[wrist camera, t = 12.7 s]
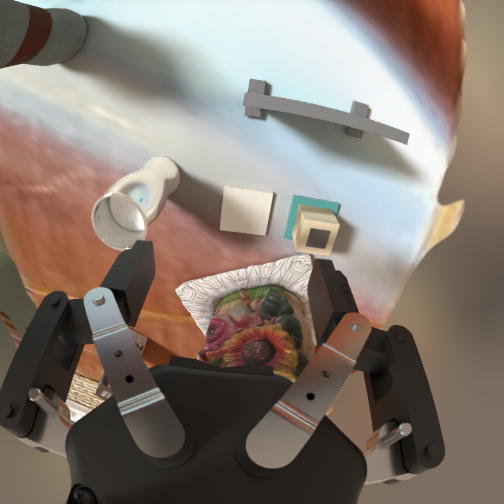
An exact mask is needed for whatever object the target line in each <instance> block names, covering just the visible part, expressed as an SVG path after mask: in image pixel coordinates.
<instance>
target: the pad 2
mask: <svg viewBox="0 0 504 504" xmlns="http://www.w3.org/2000/svg"><path fill="white" fill-rule="evenodd" d="M299 204H302V205H308V206H314V207H320V208H326V209H331V210H332V212H333V214H334V215H335V217H336V213H337V210H338V207H339V204H338V203H336V202H331V201H325V200H320V199H314V198H308V197H302V196H296V195H293V199H292V204H291V208H290V213H289V217H288V221H287V226H286V230H285V234H284V238H286V239H293V236H292V231H293V227H294V223H295V219H296V215H297V211H298V207H299Z"/></svg>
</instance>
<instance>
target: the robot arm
mask: <svg viewBox="0 0 504 504" xmlns="http://www.w3.org/2000/svg"><path fill="white" fill-rule="evenodd" d="M154 275H155V260H154V251H153V243H152V241H144V240H136V242H135V243H134V245H133V247H132V248H131V249H126V250H124V251H123V252H122V253H120V254H119V255H118V257H117V259H116V260H115V263H114V264H113V265H112V267H111V268H110V270H109V272H108V274H107V275H106V277H105V279H104V280H103V282H102V284H101V286H100V287H99V288H95V289H92V290H90V291H89V292H88V293H87V294H86V295H85V297H84V298H82V299H71V300H69V299H68V297H67V295H66V293H64V292H62V291H54V292H52V293H50V294H48V295H47V296H46V297H45V298H44V299H43V301H42V303H41V304H40V306H39V308H38V310H37V311H36V313H35V315H34V317H33V319H32V321H31V323H30V325H29V326H28V328H27V330H26V332H25V334H24V336H23V338H22V340H21V343H20V345H19V347H18V349H17V351H16V353H15V356H14V358H13V360H12V362H11V365H10V367H9V370H8V372H7V374H6V377H5V379H4V382H3V385H2V388H1V390H0V425H1V426H2V427H3V428H5V429H6V430H7V431H9V432H10V433H11V434H12V435H13V436H15V437H17V438H18V439H19V440H21V441H23V442H24V443H26V444H27V445H29V446H31V447H34V448H35V449H37V450H39V451H41V452H49V451H51V452H54V453H56V454H58V455H61V456H64V457H66V458H67V460H68V463H69V468H70V474H71V490H70V494H69V496H68V499H67V502H66V504H357V503H358V499H359V495H360V493H361V490H362V488H363V486H364V485H367V484H372V483H377V482H383V483H385V484H395V483H397V482H400V481H403V480H406V479H408V478H411V477H414V476H416V475H418V474H421V473H423V472H426V471H428V470H430V469H432V468H435V467H437V466H438V465H439V464H440V463H441V462H442V460H443V458H444V455H445V447H444V442H443V437H442V432H441V428H440V424H439V419H438V415H437V411H436V408H435V404H434V400H433V397H432V393H431V390H430V386H429V383H428V380H427V376H426V373H425V370H424V367H423V364H422V361H421V358H420V355H419V352H418V349H417V347H416V344H415V341H414V338H413V336H412V334H411V333H410V331H409V330H407V329H406V328H405V327H403V326H399V325H393V326H391V327H390V328H389V329H388V331H384V330H380V329H377V328H374V327H371V323H370V322H369V320H368V319H367V318H366V317H365V316H363V315H361V314H359V311H358V308H357V306H356V303H355V300H354V297H353V294H352V293H351V289H350V287H349V284H348V281H347V278H346V277H345V276H344V275H343V274H342V272H341V271H337V270H335V268H334V265H333V262H332V260H327V259H316V260H315V262H314V265H313V268H312V272H311V275H310V278H309V281H308V285H307V295H308V300H309V305H310V310H311V315H312V321H313V326H314V331H315V337H316V342H317V346H321V348H320V349H319V350H318V352H317V353H316V354H315V356H314V357H313V358H312V360H311V361H310V362H309V364H308V365H307V366H306V368H305V369H304V370H303V372H302V373H301V374H300V376H299V377H298V378H297V379H296V381H295V382H292V381H291V380H289V379H288V378H286V377H284V376H281V375H279V374H276V373H274V371H273V366H269V365H252V364H247V365H240V366H232V367H225V368H221V367H217V366H214V365H211V364H208V363H205V362H203V361H200V360H197V359H191V358H183V357H176V356H171V360H170V363H164V364H159V365H156V366H153V367H151V368H149V369H148V368H147V366H146V364H145V362H144V360H143V358H142V356H141V354H140V352H139V350H138V348H137V346H136V344H135V341H134V339H133V337H132V335H131V333H130V331H129V328H128V326H130V327H135V325H136V322H137V320H138V317H139V314H140V312H141V309H142V306H143V304H144V301H145V299H146V296H147V294H148V291H149V289H150V286H151V284H152V281H153V279H154ZM85 344H95V348H96V350H97V353H98V356H99V359H100V362H101V365H102V367H103V370H104V373H105V375H106V378H107V380H108V383H109V385H110V388H111V390H112V393H113V395H112V396H111V397H109V398H108V399H107V400H105V401H104V402H102V403H101V404H100V405H98V406H97V407H96V408H94V409H93V410H92V411H90V412H89V413H87V414H86V415H85V416H83V417H82V418H80V419H79V420H78V421H76V422H75V423H74V424H73V425H72V426H71V425H70V418H71V413H70V410H69V408H68V406H67V405H66V400H67V396H68V393H69V390H70V386H71V383H72V380H73V377H74V374H75V371H76V368H77V365H78V362H79V359H80V356H81V353H82V350H83V348H84V345H85ZM352 369H355V370H359V371H363V372H364V378H365V383H366V389H367V395H368V400H369V407H370V413H371V419H372V426H373V433H372V434H371V435H370V436H369V437H368V439H367V441H366V450H365V453H364V454H363V453H362V451H361V450H360V449H359V448H358V447H357V446H356V445H355V444H354V443H353V442H352V441H351V440H350V439H349V438H348V437H347V436H346V435H345V434H344V433H343V432H342V431H341V430H340V429H339V428H338V427H337V426H336V425H335V424H334V423H333V422H332V421H331V420H330V419H329V418H328V417H327V416H326V415H325V413H326V412H327V410H328V409H329V407H330V406H331V404H332V402H333V401H334V399H335V398H336V396H337V394H338V393H339V391H340V389H341V388H342V386H343V384H344V383H345V381H346V379H347V378H348V376H349V374H350V372H351V371H352Z"/></svg>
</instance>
